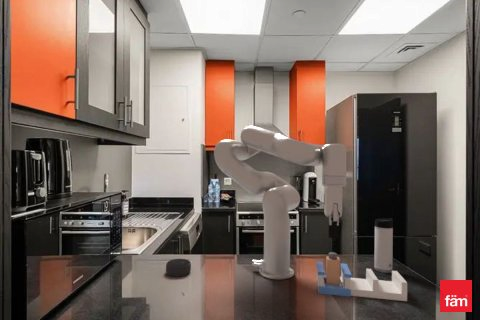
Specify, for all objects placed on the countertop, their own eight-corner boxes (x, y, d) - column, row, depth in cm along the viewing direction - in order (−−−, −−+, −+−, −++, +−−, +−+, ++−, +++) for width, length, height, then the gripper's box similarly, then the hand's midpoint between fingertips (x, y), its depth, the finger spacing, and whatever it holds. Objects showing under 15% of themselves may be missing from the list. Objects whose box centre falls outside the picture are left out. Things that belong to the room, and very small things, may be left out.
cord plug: (326, 287, 96) (326, 254, 96) (325, 282, 100) (326, 251, 100) (339, 289, 95) (339, 255, 95) (338, 284, 99) (338, 252, 99)
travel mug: (395, 273, 111) (396, 220, 111) (376, 272, 112) (377, 219, 113) (390, 268, 117) (391, 217, 118) (372, 266, 119) (373, 216, 119)
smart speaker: (173, 267, 114) (173, 257, 114) (194, 270, 112) (194, 259, 112) (161, 275, 106) (161, 264, 106) (183, 278, 103) (184, 267, 103)
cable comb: (317, 293, 93) (318, 272, 93) (316, 280, 104) (316, 261, 104) (408, 302, 88) (408, 280, 88) (396, 287, 98) (396, 267, 99)
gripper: (320, 180, 106) (320, 231, 106) (323, 182, 92) (323, 242, 91) (342, 180, 105) (342, 233, 104) (349, 182, 90) (349, 243, 90)
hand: (333, 237), depth 98 cm, fingers closed
